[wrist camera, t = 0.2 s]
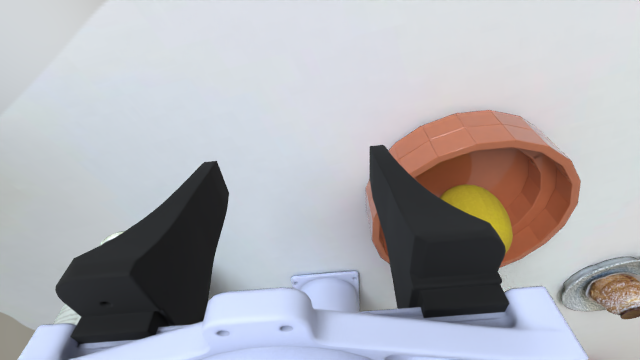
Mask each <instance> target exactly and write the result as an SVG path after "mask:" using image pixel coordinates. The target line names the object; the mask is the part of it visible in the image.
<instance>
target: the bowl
mask: <svg viewBox="0 0 640 360" xmlns="http://www.w3.org/2000/svg"><path fill="white" fill-rule="evenodd" d="M389 152H390V154H391V155H392V156H393V157H394V158H395V160H396V161H397V162H398V163H399V164H400V165H401V166H402V167H403V168H404V169H405V170H406V171H407V172H408V173H409V174H410V175H411V176H412V177H413V178H414V179H415V180H416V181H417V182H419V183H420V184H421V185H422V186H423V187H425V188H426V189H427V190H429V191H430V192H431V193H433V194H434V195H436V196H437V197H439V198H440V196H441V195H442V194H443V193H444V192H446V191H447V190H448V189H450V188H452V187H455V186H458V185H465V184H468V185H476V186H479V187H482V188H484V189H486V190H488V191H489V192H490V193H492V194H493V195H494V196H495V197H496V198H497V199H498V200H499V201H500V202H501V204H502V205H503V207H504V208H505V210H506V212H507V214H508V216H509V219H510V222H511V226H512V233H513V238H512V243H511V246H510V248H509V250H508V251H507V253H506V254H505V256H504V259H503V261H502V263H501V265H500V267H503V266H505V265H508V264H510V263H513V262H515V261H517V260H520V259H522V258H523V257H525V256H526V255H528V254H530V253H531V252H533V251H534V250H536V249H538V248H539V247H541V246H542V245H544V244H545V243H547V242H548V241H549V240H550V239H551V238H552V237H553V236H554V235H555V234H556V233H557V232H558V231H559V230H560V229H561V228H562V227H563V226H565V224H566V222H567V221H568V219H569V217H570V216H571V214H572V212H573V211H574V209H575V207H576V206H577V203H578V198H579V190H580V183H581V181H580V178H579V176H578V174H577V172H576V170H575V168H574V165H573V163H572V161H571V160H570V159H569V158H568V157H567V156H566V155H565V154H564V153H563V152H562V151H561V150H560V149H559V148H558V147H557V146H556V145H555V144H554V143H553V142H552V141H551V140H550V139H549V138H548V137H547V136H546V135H545V134H544V133H543V132H542V131H541V130H539V129H538V128H536V127H535V126H533V125H532V124H531V123H529V122H528V121H526V120H525V119H523V118H522V117H520V116H516V115H511V114H506V113H501V112H497V111H492V110H485V111H475V112H465V113H456V114H453V115H450V116H447V117H444V118H442V119H439V120H436V121H433V122H431V123H428V124H425V125H423V126H420V127H419V128H417V129H416V130H414V131H413V132H411V133H410V134H408V135H407V136H405V137H404V138H402V139H401V140H399V141H398V142H396V143H395V144H394V145H393V146H392V147H391V148H390V149H389ZM366 211H367V216H368V221H369V227H370V232H371V237H372V241H373V243H374V245H375V247H376V249H377V251H378V253H379V255H380V257H381V258H382V259H384V260H385V261H386V262H388V263H389V264H390V261H389V256H388V251H387V245H386V241H385V237H384V234H383V230H382V227H381V224H380V221H379V217H378V214H377V211H376V207H375V204H374V201H373V197H372V191H371V185H370V179H369V181H368V184H367V186H366ZM500 267H499V268H500Z"/></svg>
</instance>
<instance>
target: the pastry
mask: <svg viewBox="0 0 640 360" xmlns="http://www.w3.org/2000/svg"><path fill="white" fill-rule="evenodd" d="M561 299H562V303H563V304H564V306H566V307H567V308H569V309H572V310H577V311H599V310H607V311H609V312H610V313H613V314H617V315H621V316H620V317H621V318H622V319H632V318H636V317H639V316H640V259H638V260H636V259H635V258H634V257H626V258H625V257H622V258H615V259H610V260H607V261H603V262H601V263H599V264H596V265H594V266H593V265H592V266H589V267H587V268H584V269H582V270H580V271H579V272H577V273H576V274H574V275H573V276H571V277H570V278H569V279H568V281H566V282H565V283H564V289H563V295H562V298H561Z"/></svg>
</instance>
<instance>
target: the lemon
mask: <svg viewBox="0 0 640 360" xmlns="http://www.w3.org/2000/svg"><path fill="white" fill-rule="evenodd" d="M440 199H442V200H444V201H445V202H447V203H449V204H450V205H452V206H454V207H456V208H458V209H460V210H462V211H464V212H466V213H468V214H470V215H472V216H475V217H477V218H480V219H482V220H485V221H487V222H489V223H490V224H491V225H492V227H493V228H494V229H495V230H496V232H497V233H498V235H499V236H500V238H501V240H502V241H503V243H504V245H505V248H506V252H505V254H506V253H507V251H508V250H509V248H510V246H511V243H512V238H513V233H512V226H511V222H510V219H509V216H508V214H507V212H506V210H505V208H504V207H503V205H502V204H501V202H500V201H499V200H498V199H497V198H496V197H495V196H494V195H493V194H492V193H490V192H489V191H488V190H486V189H484V188H482V187H479V186H476V185H468V184H465V185H458V186H455V187H452V188H450V189H448V190H447V191H446V192H444V193H443V194H442V195H441V196H440Z"/></svg>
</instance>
